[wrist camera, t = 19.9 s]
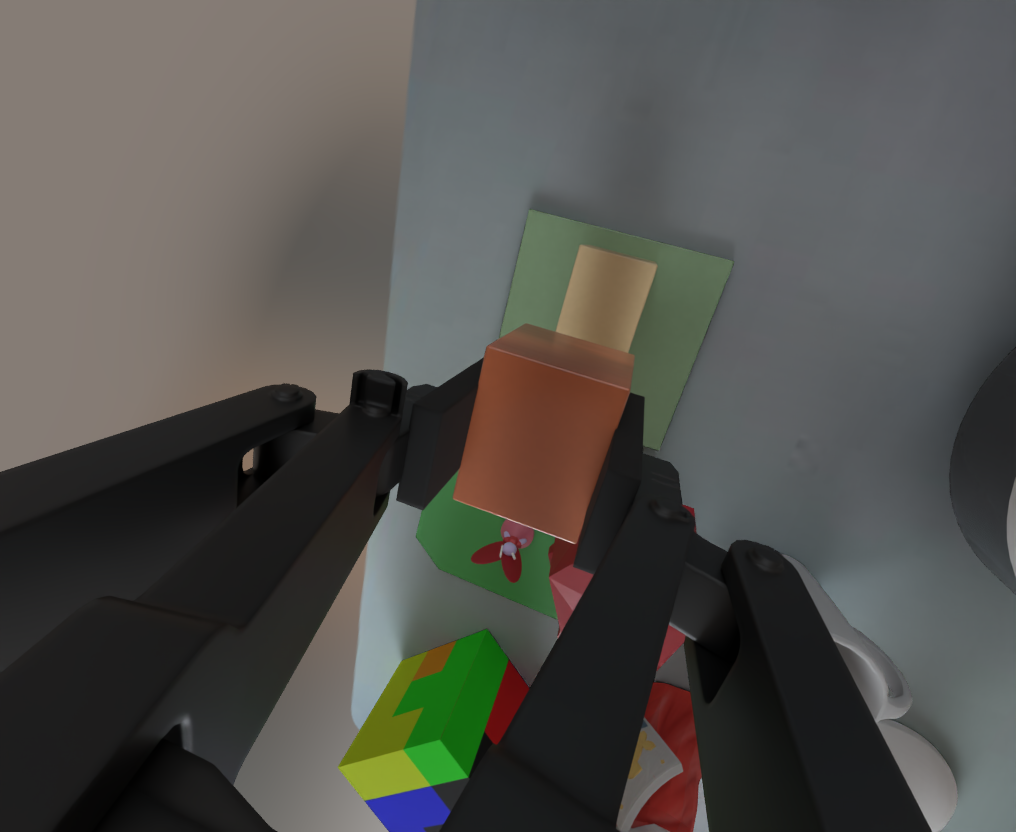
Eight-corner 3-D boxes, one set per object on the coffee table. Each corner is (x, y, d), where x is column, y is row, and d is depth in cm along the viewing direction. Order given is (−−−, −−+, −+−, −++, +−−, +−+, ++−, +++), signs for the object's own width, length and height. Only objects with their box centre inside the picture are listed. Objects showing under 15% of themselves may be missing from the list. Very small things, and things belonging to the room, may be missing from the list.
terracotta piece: (493, 446, 19) (451, 499, 15) (525, 322, 17) (486, 344, 13) (592, 479, 18) (575, 545, 14) (635, 354, 17) (631, 389, 12)
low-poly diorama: (647, 656, 37) (647, 771, 29) (412, 555, 40) (351, 634, 32) (733, 494, 31) (763, 581, 23) (451, 391, 34) (389, 435, 26)
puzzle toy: (462, 742, 46) (416, 865, 37) (401, 660, 44) (337, 767, 35) (551, 719, 42) (523, 850, 33) (487, 628, 40) (439, 739, 31)
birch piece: (566, 327, 30) (553, 339, 26) (589, 244, 28) (579, 243, 24) (628, 345, 30) (625, 361, 26) (657, 262, 28) (658, 264, 24)
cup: (730, 521, 32) (756, 608, 24) (894, 574, 30) (978, 686, 23) (689, 608, 35) (701, 712, 27) (836, 661, 33) (894, 788, 25)
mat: (487, 392, 34) (485, 394, 33) (530, 209, 29) (529, 208, 29) (658, 448, 32) (658, 451, 31) (733, 261, 27) (734, 261, 27)
